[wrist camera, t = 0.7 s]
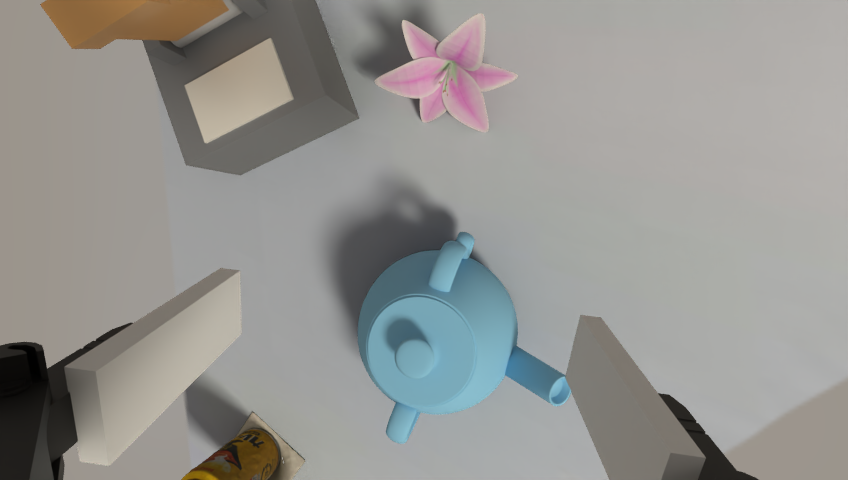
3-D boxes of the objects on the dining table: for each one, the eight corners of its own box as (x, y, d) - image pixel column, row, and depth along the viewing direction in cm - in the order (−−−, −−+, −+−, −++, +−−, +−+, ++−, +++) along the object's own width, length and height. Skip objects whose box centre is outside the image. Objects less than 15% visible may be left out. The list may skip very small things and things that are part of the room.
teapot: (400, 211, 44) (355, 205, 31) (590, 267, 40) (624, 285, 27) (353, 381, 45) (292, 439, 33) (530, 451, 41) (536, 547, 29)
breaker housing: (359, 118, 44) (309, 83, 33) (239, 175, 48) (160, 160, 37) (291, -64, 45) (221, -154, 35) (179, 5, 49) (84, -58, 38)
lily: (380, 88, 45) (355, 110, 37) (428, -26, 39) (411, -29, 31) (475, 141, 46) (471, 173, 38) (536, 39, 40) (546, 52, 32)
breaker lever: (248, 16, 38) (150, -1, 26) (189, 49, 40) (70, 50, 27) (230, -17, 37) (119, -50, 24) (171, 20, 39) (37, 6, 26)
